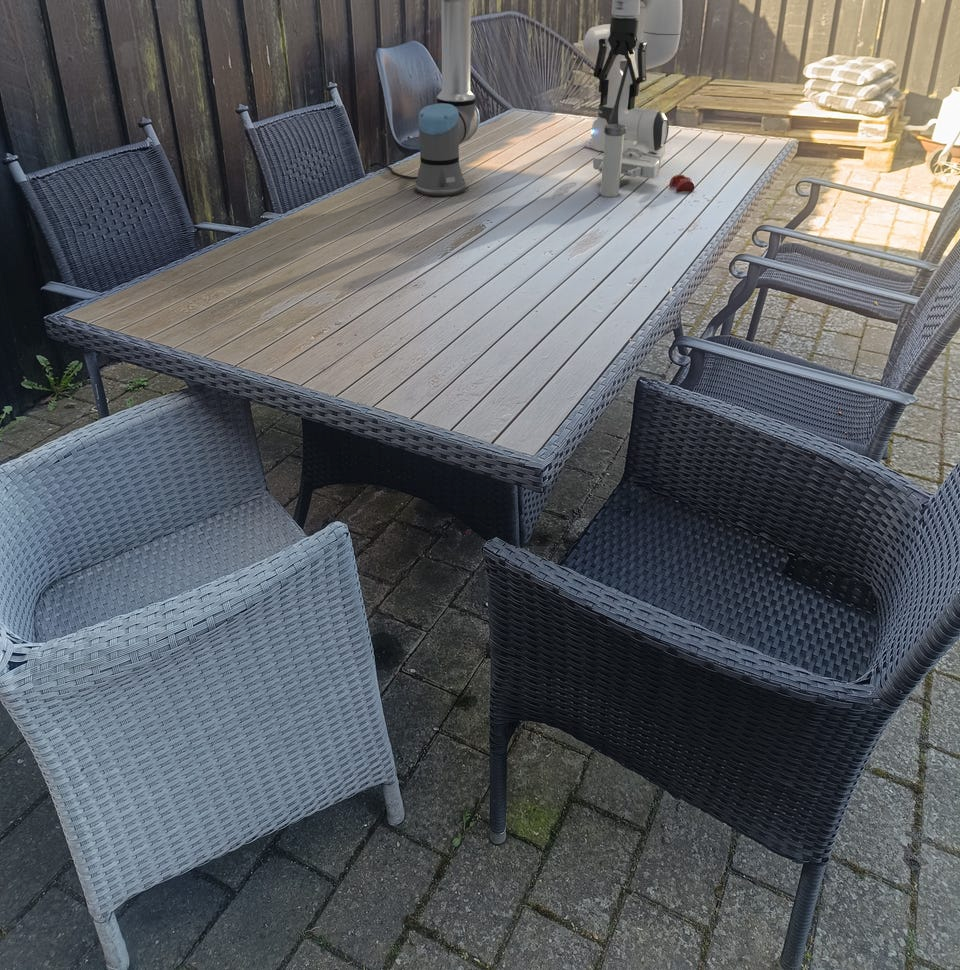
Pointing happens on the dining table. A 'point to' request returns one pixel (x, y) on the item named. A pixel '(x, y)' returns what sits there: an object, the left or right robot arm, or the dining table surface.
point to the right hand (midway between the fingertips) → (615, 171)
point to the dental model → (681, 183)
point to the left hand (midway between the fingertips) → (617, 106)
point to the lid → (615, 129)
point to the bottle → (611, 165)
